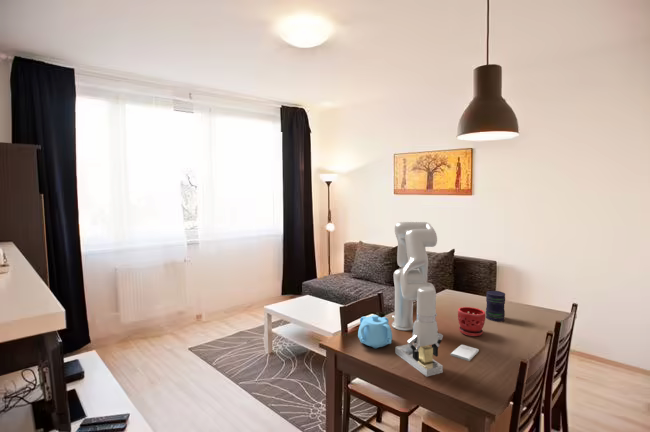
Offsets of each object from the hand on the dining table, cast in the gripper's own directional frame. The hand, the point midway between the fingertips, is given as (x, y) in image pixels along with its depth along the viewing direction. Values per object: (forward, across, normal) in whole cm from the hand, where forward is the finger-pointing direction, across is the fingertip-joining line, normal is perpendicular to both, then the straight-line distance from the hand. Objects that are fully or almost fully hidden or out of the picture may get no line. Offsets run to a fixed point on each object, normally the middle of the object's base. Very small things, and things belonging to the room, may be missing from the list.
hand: (425, 357), depth 149 cm
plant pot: (+5, -45, -20) cm, 49 cm away
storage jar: (+5, -73, -30) cm, 79 cm away
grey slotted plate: (+4, 0, -5) cm, 7 cm away
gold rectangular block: (+4, 0, 0) cm, 5 cm away
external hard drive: (+5, -25, -4) cm, 26 cm away
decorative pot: (+5, +7, -29) cm, 30 cm away
